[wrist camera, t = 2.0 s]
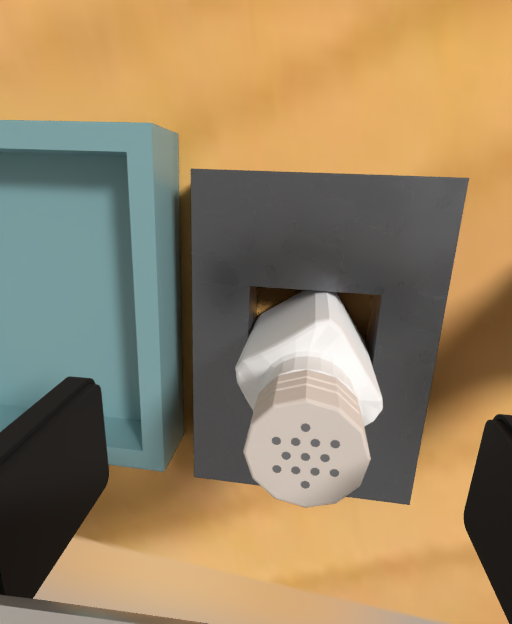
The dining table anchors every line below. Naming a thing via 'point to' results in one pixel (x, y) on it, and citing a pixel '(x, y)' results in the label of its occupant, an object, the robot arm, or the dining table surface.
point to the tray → (94, 276)
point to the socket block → (321, 277)
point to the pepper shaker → (308, 400)
